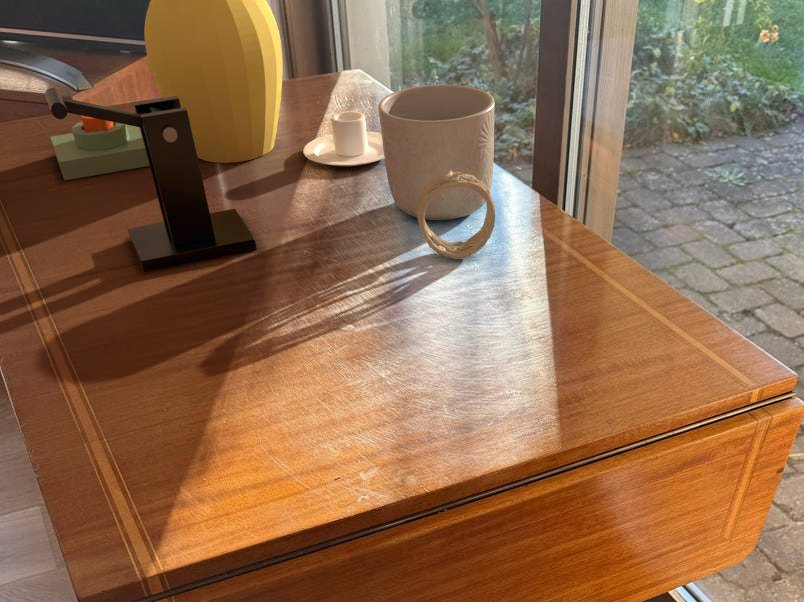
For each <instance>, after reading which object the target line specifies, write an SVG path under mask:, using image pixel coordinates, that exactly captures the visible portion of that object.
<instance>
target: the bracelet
mask: <svg viewBox="0 0 804 602" xmlns="http://www.w3.org/2000/svg"><path fill="white" fill-rule="evenodd" d="M458 187H459V188H470V189H473V190H475V191H476V192H478V193H479V194H480V195H481V196H482V197H483V198H484V199H485V201H486V202H485V203H486V204H485V205H486V212H485V217H484V222H483V224H482V226H481V228H480V229H479V230H478V231H477V232H476V233H475V234H473V235H472V236H470V237H469V238H468V239H466V241H462V240H459V241H455V242H451V241H447V240H445V239H443V238H441V237H439V236H438V235H437V234H435V233H434V232H433V231H432V230H431V229H430V228H429V226H428V224H427V222H426V219H424V215H425V211H426V208H427V206H428V205H429V203H430V202H431V201H432V199H433V198H434V197H435V196H436V195H437V194H439V193H440V192H441V191H444V190H446V189H450V188H458ZM417 217H418V218H417ZM417 217H416V218H417V221H418V224H419V227H420V231H421V236H423V239H424V240H425V242H426V243H427V245H428V246H429V248H430V249H432V250H433V251H434V252H436V254H437V255H439V256H441V257H446V258H449V259H453V260H460V259H461V260H463V259H466V258H469V257H471V256H472V255H475V254H476V253H477V252H479V251H480V250H482V248H483V247H484V246H485V245H487V242H488V241H489V240H490V238H491V236H492V233H493V231H494V229H495V222H496V205H495V204H494V200H493V196H492V195H491V191H490V192H489V190H488V189H487V188H486V187H485V185H484V184H483V183H482V182H481V181H479V180H478V179H477V178H475V177H474V176H472V175H468V174H463V173H460V172H452V171H449V172H448V174H445V175H444V174H443V175H440V176H437V177H435V178H434V179H432V180H431V181H430V182H429V183H428V184H426V185H425V187H424V188H423V190H422V192H421V194H420V196H419V200H418V206H417Z"/></svg>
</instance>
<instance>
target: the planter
mask: <svg viewBox="0 0 804 602" xmlns="http://www.w3.org/2000/svg"><path fill="white" fill-rule="evenodd" d="M495 104H496V103H495V99H494V97H493V96H492V95H491V94H490V93H488V92H487V91H484V90H483V89H479V88H477V87H473V86H468V85H461V84H428V85H427V84H425V85H419V86H412V87H407V88H403V89H400V90H397V91H394V92H393V93H392V92H391V93H390V94H387V95H386V96H384V97H383V98H382V99H381V100H380V101H379V103H378V106H377V109H378V117H379V125H380V133H381V134H382V142H383V150H384V165H385V171H386V176H387V182H388V187H389V190H390V193H391V197H392V199H393V201H394V203H395V205H396V206H397V207H398V208H399V209H400V210H401V211H403V212H404V213H406V214H408V215H410V216H412V217H414V218H417V219H418V217H417V206H418V200H419V196H420V194H421V192H422V190H423V188H424V187H425V185H426V184H428V183H429V182H430V181H431V180H432V179H434V178H435V177H437V176H440V175H443V174H444V175H445V174H448V172H449V171H452V172H460V173H463V174H468V175H472V176H474V177H475V178H477V179H478V180H479V181H481V182H482V183H483V184H484V185H485V187H486V188H487V189H488V190H489V192H490V193H491V191H492V186H493V175H494V174H493V173H494V162H495V161H494V159H495ZM485 203H486V201H485V199H484V198H483V197H482V196H481V195H480V194H479V193H478V192H476V191H475V190H473V189H470V188H459V187H458V188H450V189H446V190H444V191H441V192H440V193H439V194H437V195H436V196H435V197H434V198H433V199H432V201H431V202H430V203H429V205H428V206H427V208H426V211H425V215H424V219H425V220H429V221H448V220H449V221H450V220H455V219H459V218H460V219H461V218H463V217H467V216H470V215H472V214H473V213H475V212H476V211H478V210H480V209H481V207H483V206H484V205H486V204H485Z"/></svg>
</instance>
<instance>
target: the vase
mask: <svg viewBox="0 0 804 602" xmlns="http://www.w3.org/2000/svg"><path fill="white" fill-rule="evenodd" d="M143 32H144V33H143V34H144V47H145V52H146V57H147V60H148V64H149V67H150V70H151V73H152V75H153V78H154V81H155V83H156V85H157V87H158V90H159V92H160V94H161V96H162V98H166V97H173V96H178V98H179V101H180V105H181V108H184V107H185V108H186V110H187V112H188V117H189V121H190V126H191V130H192V135H193V139H194V144H195V148H196V153H197V157H198V159H200V160H202V161H205V162H210V163H216V164H219V163H220V164H221V163H222V164H231V163H241V162H246V161H251V160H254V159H257V158H260V157H263V156H265V155H267V154H268V153H270V152H271V151H272V150H273V148H274V147H275V142H276V137H277V131H278V125H279V117H280V109H281V100H282V90H283V50H282V42H281V36H280V35H281V34H280V31H279V27H278V24H277V20H276V18H275V15H274V13H273V10H272V9H271V7H270V5H269V3H268V2H267V1H266V0H150V1H149V4H148V7H147V10H146V14H145V20H144V31H143Z"/></svg>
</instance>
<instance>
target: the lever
mask: <svg viewBox="0 0 804 602" xmlns="http://www.w3.org/2000/svg"><path fill="white" fill-rule="evenodd" d="M44 97H45V99H46V102H47V105H48V108H49V110H50V113H51V115H52V116H53V117H54V118H55V119H58V120H63V119H64V120H65V118H67V115H68V114H73V115H77V116H80V117H81V116H86V117H91V118H96V119H101V120H106V121H111V122H116V123H121V124H125V125H130V126H135V127H140V128H143V124H142V120H141V116H140V115H141V114H137V113H136V112H132V111H127V110H122V109H117V108H113V107H108V106H104V105H99V104H95V103H90V102H85V101H81V100H75V99H70V98H66V97H63V96H62V93H61V91H59V90H58V89H57V88H55V87H49V88H47V89H46V91H45V93H44ZM159 111H165V110H162V109H157V108H153V107H149V113H153V112H159Z"/></svg>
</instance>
